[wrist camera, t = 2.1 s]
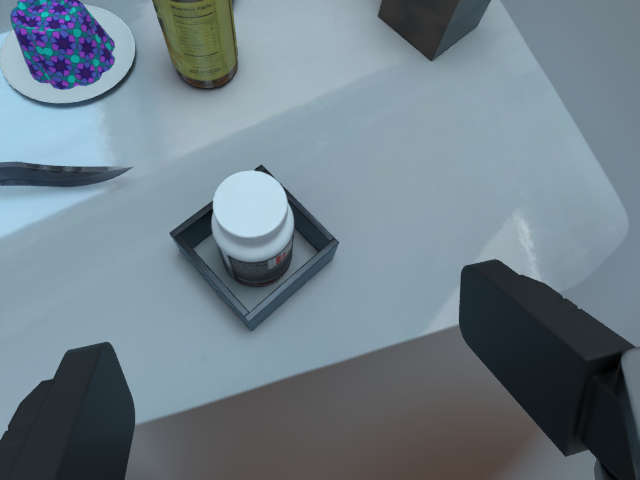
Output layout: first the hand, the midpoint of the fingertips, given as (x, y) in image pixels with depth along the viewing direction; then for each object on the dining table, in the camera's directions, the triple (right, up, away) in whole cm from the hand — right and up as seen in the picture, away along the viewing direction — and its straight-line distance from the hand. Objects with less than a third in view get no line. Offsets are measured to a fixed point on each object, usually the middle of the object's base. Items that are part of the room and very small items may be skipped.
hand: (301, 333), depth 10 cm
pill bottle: (-5, +1, +27) cm, 27 cm away
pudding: (-23, +20, +32) cm, 44 cm away
